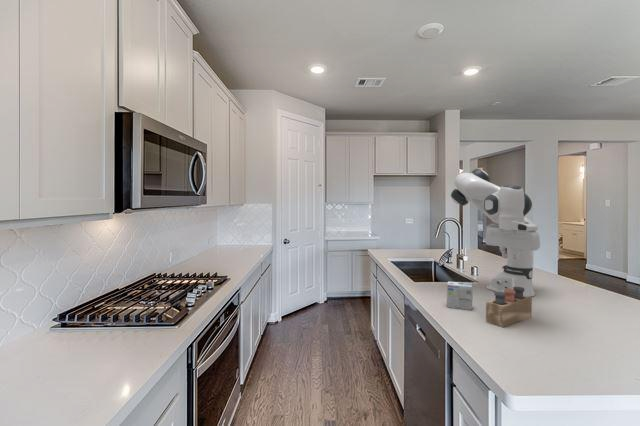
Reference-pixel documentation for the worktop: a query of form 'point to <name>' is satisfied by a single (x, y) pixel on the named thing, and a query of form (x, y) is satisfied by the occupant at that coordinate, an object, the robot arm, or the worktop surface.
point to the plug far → (518, 292)
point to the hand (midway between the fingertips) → (510, 258)
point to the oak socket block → (508, 311)
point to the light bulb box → (459, 295)
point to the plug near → (500, 298)
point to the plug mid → (509, 295)
